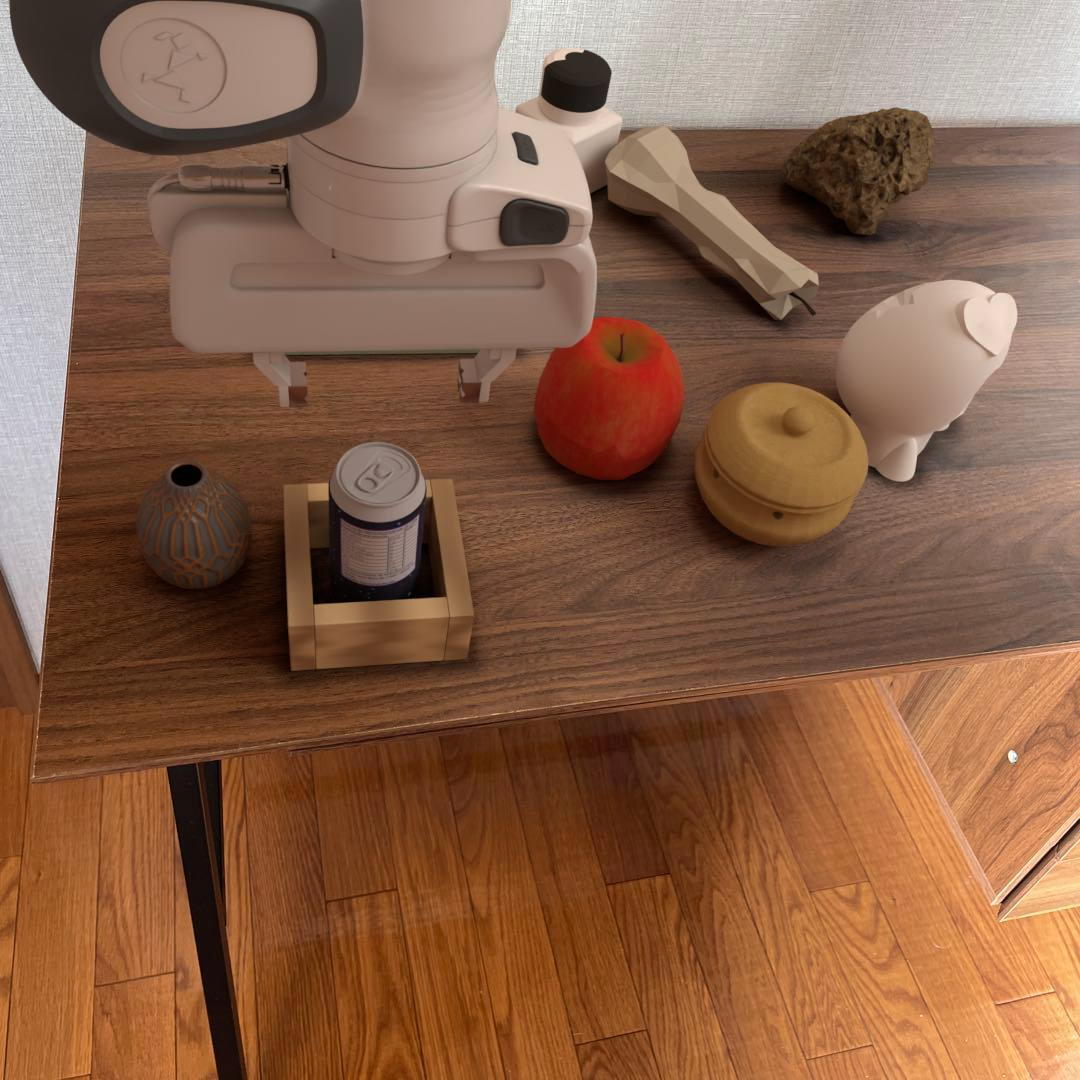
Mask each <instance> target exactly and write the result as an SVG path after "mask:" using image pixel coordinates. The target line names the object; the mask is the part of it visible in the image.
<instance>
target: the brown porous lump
mask: <svg viewBox="0 0 1080 1080" xmlns="http://www.w3.org/2000/svg"><path fill="white" fill-rule="evenodd" d="M934 134H935V133H934V128H933V127H932V125H931V122H930V120H929V118H928V116H927V115H926V114H924V113H921V112H920V111H919V110H911V109H908V108H901V107H891V108H889V109H886V108H880V109H879V110H878V111H874V110H873V111H871V112H868V113H863V114H855V115H846V116H840V117H838V118H835V119H833V120H831V121H827V122H825V123H824V124H823V125H822V126H820V127H819V128H817V130H816V131H815V132H813V133H812V134H810V135H809V136H807V138H805V139H803V140H802V141H800V143H799V144H798V145H797V146H795V147H793V148H792V149H791V150H790V152H789V153H788V155H787V156H786V157H785V158H784V160H783V162H782V164H781V167H782V169H781V173H782V174H783V176H784V179H785V183H786V184H787V185H789V186H790V187H792V188H793V189H794V190H796V191H797V192H798V191H800V192H803V193H804V192H805V193H806V194H807V195H808V196H811V197H812V198H815V199H817V200H818V201H819V202H821V203H822V204H824V205H826V206H828V208H829V210H830V212H831V214H832V215H833V216H834V217H836V219H838V220H839V219H840V220H843V221H844V222H845V224H846V227H847V230H848V231H850V232H851V233H852V234H854V235H863V236H872V235H874V234H875V233H876V230H877V226H878V223H882V221H884V220H885V219H886V218H888V215H889V212H890V210H891V206H892V204H896V203H899V202H900V201H902V200H903V199H904V198H905V196H909V194H911V193H914V192H917V191H919V190H921V189H922V188H923V187H924V186H925V184H927V182H928V180H929V175H928V174H927V173H928V171H930V169H931V167H933V166H934V164H935V160H934V157H933V154H932V148H933V147H934V145H935V140H934Z"/></svg>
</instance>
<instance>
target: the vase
mask: <svg viewBox="0 0 1080 1080" xmlns="http://www.w3.org/2000/svg"><path fill="white" fill-rule="evenodd" d="M250 513H251V512H250V510H249V507H248V504H247V503H246V501H245V499H244V497H243V495H242V494H241V492H240V491H239V489H237V487H236V486H235V485H234V483H232V481H230V480H229V479H228V478H226V477H225V476H223V475H221V474H220V473H218V472H216V471H213V470H211V469H208V468H207V467H206V466H205V465H203V464H202V463H201V462H199V461H196V460H193V459H183V460H178V461H176V462H174V463H172V464H171V465H169V467H168V468H167V469H166V471H165V473H164V474H163V475H161V477H159V478H157V479H156V480H155V481H154V482H153V483H152V484H151V485H150V486H149V487H148V489H147V490H146V492H145V493H144V495H143V496H142V498H141V501H140V504H139V507H138V510H137V516H136V521H135V522H136V524H135V525H136V527H135V529H136V530H135V531H136V539H137V542H138V545H139V548H140V551H141V553H142V556H143V558H144V560H145V561H146V562H147V564H148V566H149V567H150V568H151V570H153V572H154V573H155V574H156V575H157V576H158V577H160V578H161V579H163V580H164V581H165V582H167V583H169V584H170V585H172V586H175V587H179V588H183V589H188V590H189V589H190V590H203V589H209V588H213V587H215V586H218V585H220V584H222V583H224V582H226V581H227V580H228V579H230V578H232V577H233V576H234V575H235V574H236V573H237V572H238V571H239V570H240V568H241V567H242V566H243V564H244V562H245V560H246V559H247V556H248V554H249V551H250V547H251V543H252V532H253V531H252V530H253V527H252V519H251V518H252V517H251V514H250Z"/></svg>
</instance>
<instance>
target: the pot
mask: <svg viewBox="0 0 1080 1080" xmlns="http://www.w3.org/2000/svg"><path fill="white" fill-rule="evenodd" d="M703 433H704V434H703V436H702V437H701V438H700V440H699V442H698V443H697V446H696V450H695V453H694V456H693V469H694V479H695V481H696V484H697V485H696V486H697V488H698V490H699V493H700V496H701V498H702V500H703V502H704V503H705V505H706V507H707V509H708V510H709V512H710V513H711V515H712V516H713V517H714V518H715V519H716V520H717V521H718V522H719V523H720V524H721V525H722V526H723V527H725V528H726V529H727V530H729V531H731V533H733V534H734V535H737V536H739V537H741V538H743V539H745V540H747V541H750V542H753V543H756V544H759V545H763V546H770V547H791V546H797V545H800V544H805V543H809V542H812V541H815V540H817V539H819V538H821V537H823V536H825V535H827V534H828V533H830V532H832V531H833V530H835V529H836V528H837V527H838V526H839V525H840V524H841V523H842V522H843V521H844V520H845V519H846V518H847V516H848V514H849V512H850V510H851V507H852V505H853V503H854V502H853V501H854V498H855V497H856V496H857V495H858V494H859V493H860V491H861V488H862V486H863V485H864V482H865V480H866V477H867V475H868V472H869V465H868V463H869V460H868V454H867V448H866V445H865V442H864V440H863V438H862V435H861V433H860V431H859V429H858V427H857V426H856V424H855V423H854V422H853V421H852V419H851V418H850V415H849V414H848V413H847V412H846V411H845V410H844V409H843V408H841V406H840V405H839V404H837V403H836V402H834V401H833V400H832V399H830V398H828V397H827V396H826V395H824V394H822V393H820V392H818V391H816V390H813V389H812V388H809V387H806V386H801V385H798V384H795V383H787V382H782V381H781V382H780V381H779V382H777V381H775V382H760V383H755V384H750V385H747V386H744V387H741V388H739V389H737V390H735V391H733V392H730V393H729V394H727V395H726V396H725V397H723V398H722V399H721V400H720V401H719V402H717V404H716V405H715V407H714V408H713V410H712V411H711V412H710V414H709V417H708V418H707V421H706V425H705V427H704V432H703Z"/></svg>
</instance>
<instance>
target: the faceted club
mask: <svg viewBox="0 0 1080 1080" xmlns="http://www.w3.org/2000/svg"><path fill="white" fill-rule="evenodd" d="M605 165H606V172H607V182H608V185H607V200H608V201H609V202H611V203H613V204H615V205H616V206H618V207H619V208H621V209H623V210H625V211H627V212H629V213H631V214H634V215H637V216H647V217H648V216H649V217H659V218H664V219H666V220H667V221H668V222H669V223H670V224H671V225H672V226H674V227H675V228H676V229H677V230H679V231H680V232H681V233H682V234H683V235H684V236H685V237H687V238H688V239H689V240H690V241H691V242H692V243H693V244H695V245H696V246H697V248H698V251H699V252H700V255H701V257H702V258H704V259H705V260H707V262H710V263H711V264H712V265H714V266H715V267H717V268H719V269H720V270H721V271H723V272H725V273H726V274H727V275H729V276H731V277H732V278H733V279H735V280H736V281H737V282H738V283H739V284H740V286H742V287H743V288H744V289H745V291H747V292H748V293H749V295H751V297H752V298H753V299H754V300H755V301H756V302H757V303H758V304H759V305H760V306H761V307H762V309H764V310H765V311H766V313H767V314H768V315H769V316H770V317H771V318H772V319H773V320H776V321H780V320H783V319H784V318H785V316H786V315H788V314H789V312H790V311H791V310H793V308H795V307H797V306H799V305H801V304H803V306H804V307H805V308H806V310H807V311H808V312H809V314H810V315H811V316H812V317H814V316H815V315H817V312H816V311H815V310H814V309H813V307H811V306H810V304H808V303H807V302H808V301H810V300H812V299H815V298H816V296H817V293H818V290H819V286H820V283H819V275H818V272H816V271H815V270H812V269H810V268H808V267H807V266H805V265H804V264H802V263H800V261H798V260H796V259H795V258H793V257H791V256H790V255H788V254H787V253H785V252H784V251H783V250H780V249H779V248H777V247H776V246H775V245H773V244H772V243H771V242H770V241H769V240H768V239H767V237H765V236H764V235H763V234H762V233H761V232H760V231H759V230H758V229H757V228H756V227H754V225H753V224H752V223H751V222H750V221H748V219H747V218H745V217H744V216H743V215H742V214H741V213H740V212H739V211H738V210H737V209H736V208H735V207H734V205H733V204H732V203H731V202H730V201H729V200H728V198H727V197H726V196H725V195H722V194H719V193H716V192H713V191H710V190H708V189H706V188H705V187H704V186H703V185H701V184H700V182H699V180H698V178H697V177H696V175H695V174H694V173H695V172H694V171H693V170H692V167H691V164H690V159H689V156H688V152H687V149H686V148H685V146H684V145H683V143H682V142H681V140H680V138H679V137H678V136H677V135H676V134H675V133H674V132H673V131H671V130H670V128H668V127H667V126H666V125H665V124H662V125H655V126H649V127H643V128H641V129H639V130H637V131H636V132H634V133H632V134H630V135H628V136H626V137H625V138H624V139H622V140H621V141H619V142H618V144H617V145H616V146H615V147H614V148H613V149H612V150H611V151H610V152H609V154H608V156H607V158H606V161H605Z"/></svg>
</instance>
